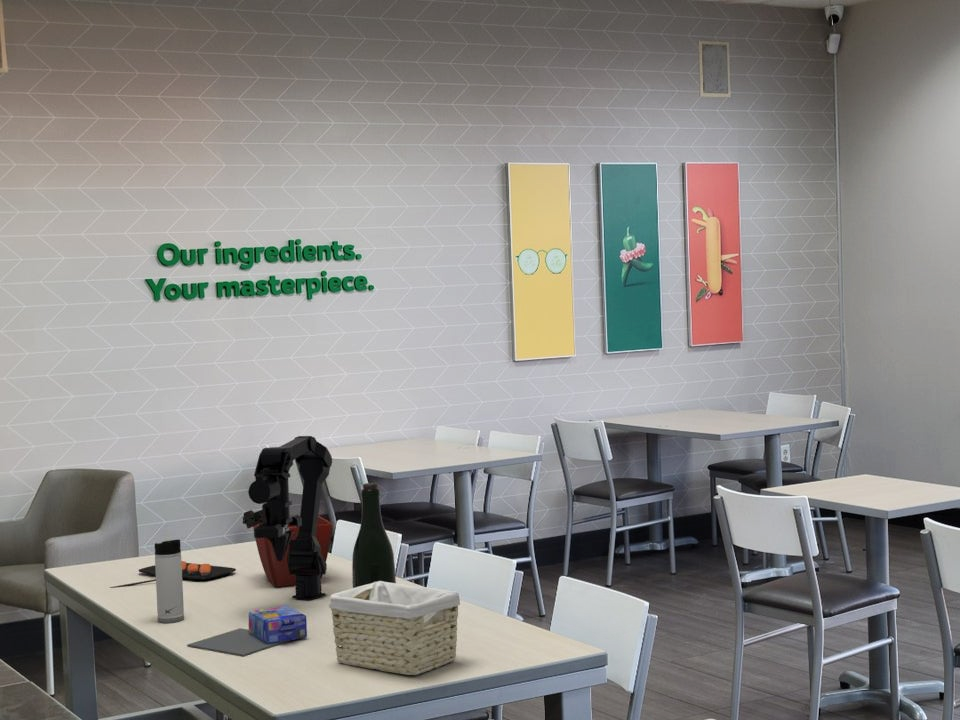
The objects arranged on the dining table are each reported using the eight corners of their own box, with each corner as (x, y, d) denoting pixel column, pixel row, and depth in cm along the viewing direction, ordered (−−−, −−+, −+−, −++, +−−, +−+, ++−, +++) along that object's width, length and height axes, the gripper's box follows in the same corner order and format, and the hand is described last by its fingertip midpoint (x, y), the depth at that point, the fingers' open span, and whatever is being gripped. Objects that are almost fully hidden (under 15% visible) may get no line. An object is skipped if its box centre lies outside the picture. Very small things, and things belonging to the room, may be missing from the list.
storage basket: (328, 663, 248) (325, 593, 247) (381, 645, 260) (378, 578, 260) (413, 681, 233) (410, 606, 232) (465, 661, 246) (462, 590, 245)
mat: (240, 629, 279) (239, 628, 279) (295, 639, 268) (295, 637, 268) (187, 646, 266) (187, 644, 266) (243, 656, 255) (243, 654, 255)
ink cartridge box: (288, 603, 278) (311, 617, 266) (288, 626, 278) (312, 641, 266) (247, 609, 273) (269, 623, 261) (248, 633, 273) (270, 648, 261)
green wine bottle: (378, 613, 290) (373, 479, 289) (406, 620, 282) (401, 482, 281) (344, 622, 282) (338, 484, 281) (372, 629, 275) (366, 487, 274)
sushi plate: (240, 575, 346) (240, 562, 346) (161, 596, 321) (161, 582, 321) (171, 567, 362) (171, 554, 362) (91, 587, 337) (90, 573, 337)
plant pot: (320, 571, 344) (317, 513, 344) (335, 584, 326) (333, 523, 326) (254, 578, 338) (251, 520, 337) (266, 591, 320) (263, 529, 319)
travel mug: (171, 624, 287) (167, 542, 286) (152, 621, 290) (148, 540, 290) (190, 618, 292) (186, 537, 292) (171, 616, 296) (167, 536, 295)
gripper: (259, 493, 304) (262, 553, 305) (232, 503, 286) (234, 568, 286) (301, 492, 302) (303, 553, 303) (276, 503, 284) (278, 568, 284)
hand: (279, 560), depth 294 cm, fingers closed
